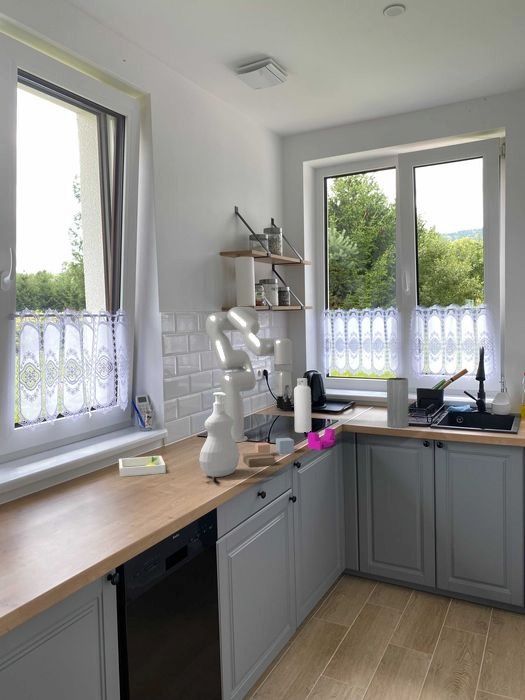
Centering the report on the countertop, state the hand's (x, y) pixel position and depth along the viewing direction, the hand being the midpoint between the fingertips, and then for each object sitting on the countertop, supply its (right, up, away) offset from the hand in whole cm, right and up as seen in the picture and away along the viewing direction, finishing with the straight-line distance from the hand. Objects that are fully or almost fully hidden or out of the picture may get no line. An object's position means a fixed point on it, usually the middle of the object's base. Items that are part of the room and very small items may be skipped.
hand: (283, 409), depth 231 cm
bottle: (+11, -17, +38) cm, 43 cm away
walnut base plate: (-10, -19, -16) cm, 27 cm away
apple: (-51, -25, -20) cm, 60 cm away
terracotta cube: (-9, -19, -3) cm, 21 cm away
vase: (+57, -16, +40) cm, 71 cm away
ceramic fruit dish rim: (-54, -20, -23) cm, 62 cm away
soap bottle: (-24, -20, -32) cm, 44 cm away
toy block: (+18, -18, +10) cm, 27 cm away
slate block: (0, -19, +1) cm, 19 cm away
